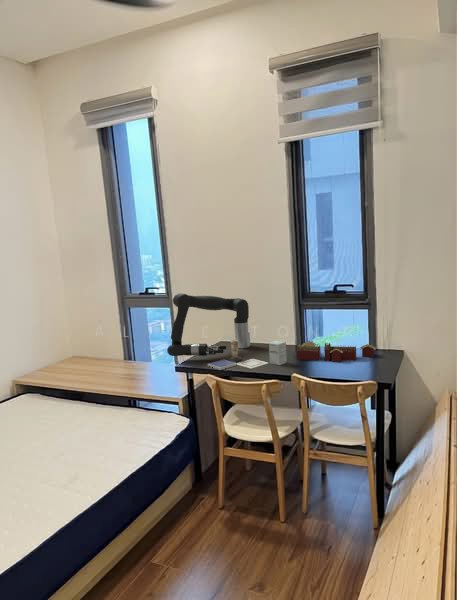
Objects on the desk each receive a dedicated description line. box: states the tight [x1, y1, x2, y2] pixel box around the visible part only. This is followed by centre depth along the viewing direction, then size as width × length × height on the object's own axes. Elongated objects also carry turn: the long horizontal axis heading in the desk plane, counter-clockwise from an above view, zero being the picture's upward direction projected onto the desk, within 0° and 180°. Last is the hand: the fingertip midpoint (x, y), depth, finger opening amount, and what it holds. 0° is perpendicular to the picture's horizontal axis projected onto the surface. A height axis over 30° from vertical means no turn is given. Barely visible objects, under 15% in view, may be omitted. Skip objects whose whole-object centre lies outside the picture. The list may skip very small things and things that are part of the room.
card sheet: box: [236, 358, 269, 370], centre depth 267 cm, size 14×14×1 cm
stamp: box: [228, 339, 242, 363], centre depth 276 cm, size 5×5×12 cm
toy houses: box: [296, 340, 377, 363], centre depth 269 cm, size 45×20×10 cm, turn 73°
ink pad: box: [207, 359, 237, 371], centre depth 267 cm, size 12×12×2 cm
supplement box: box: [268, 340, 287, 366], centre depth 264 cm, size 7×7×13 cm
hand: (224, 349), depth 277 cm, fingers open, 8 cm apart
